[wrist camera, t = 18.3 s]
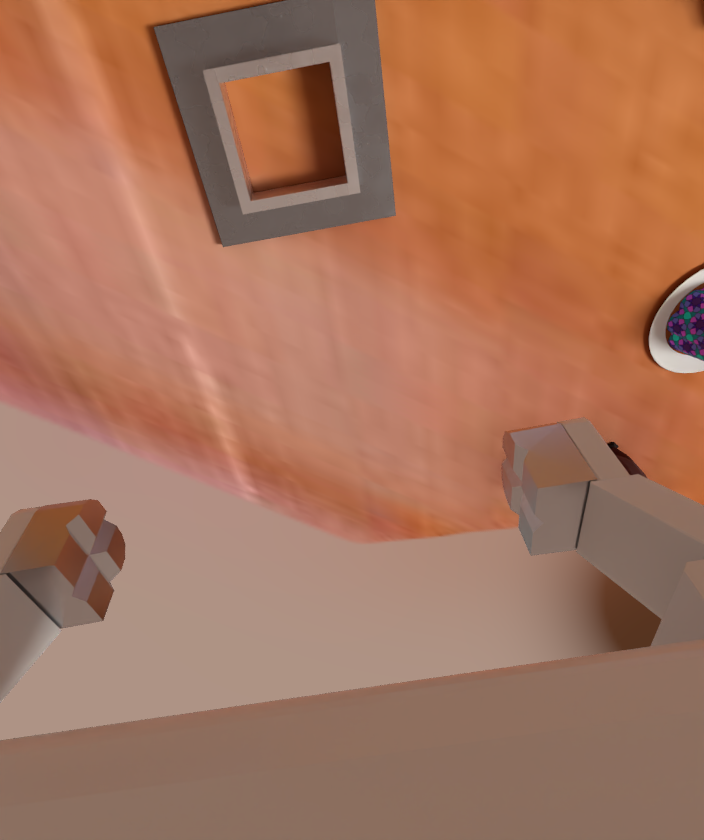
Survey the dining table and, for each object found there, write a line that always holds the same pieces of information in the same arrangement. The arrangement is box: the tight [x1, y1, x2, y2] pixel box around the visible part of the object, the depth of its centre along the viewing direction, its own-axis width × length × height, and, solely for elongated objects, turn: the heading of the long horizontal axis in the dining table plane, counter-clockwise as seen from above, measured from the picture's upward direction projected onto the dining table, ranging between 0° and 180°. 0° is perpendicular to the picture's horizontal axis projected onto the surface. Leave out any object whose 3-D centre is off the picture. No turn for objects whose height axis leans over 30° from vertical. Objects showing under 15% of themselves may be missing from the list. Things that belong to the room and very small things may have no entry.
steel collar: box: [154, 0, 396, 247], centre depth 35 cm, size 14×14×2 cm
